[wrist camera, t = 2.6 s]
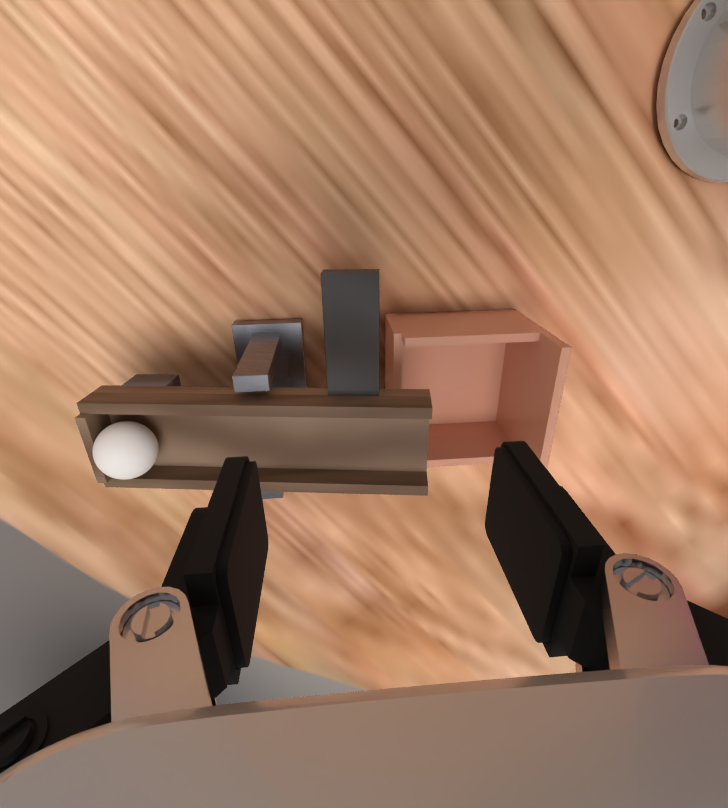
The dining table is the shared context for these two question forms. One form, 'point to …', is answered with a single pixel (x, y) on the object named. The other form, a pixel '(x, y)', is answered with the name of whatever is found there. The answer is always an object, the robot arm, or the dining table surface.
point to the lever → (284, 416)
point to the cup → (479, 380)
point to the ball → (125, 450)
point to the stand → (269, 359)
